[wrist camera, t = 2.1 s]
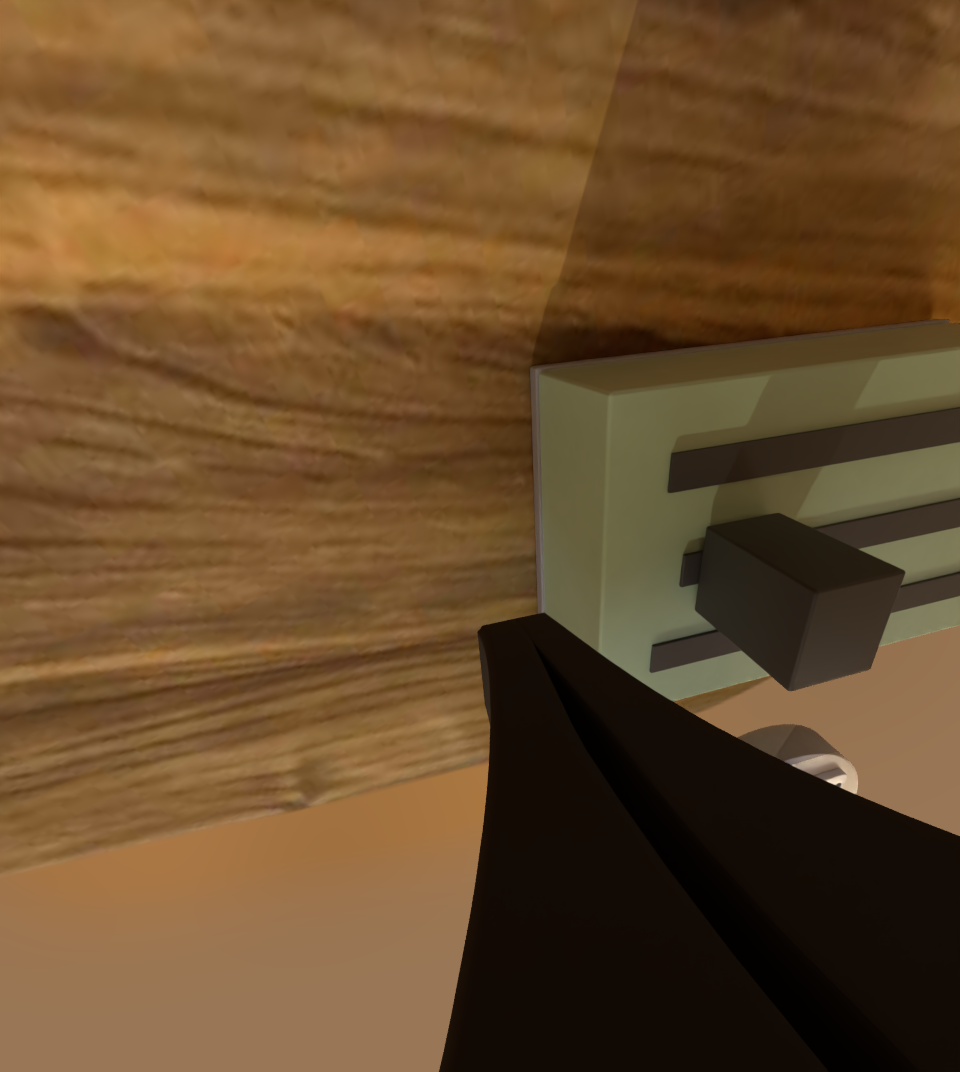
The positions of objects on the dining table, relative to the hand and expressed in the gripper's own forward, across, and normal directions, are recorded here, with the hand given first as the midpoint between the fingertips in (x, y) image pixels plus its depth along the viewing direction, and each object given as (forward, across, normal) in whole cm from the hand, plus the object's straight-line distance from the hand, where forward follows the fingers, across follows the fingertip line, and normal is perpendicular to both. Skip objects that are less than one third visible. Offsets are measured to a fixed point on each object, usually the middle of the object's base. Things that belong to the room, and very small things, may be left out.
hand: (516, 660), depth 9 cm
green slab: (+6, -10, 0) cm, 12 cm away
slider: (+2, -6, 0) cm, 6 cm away
